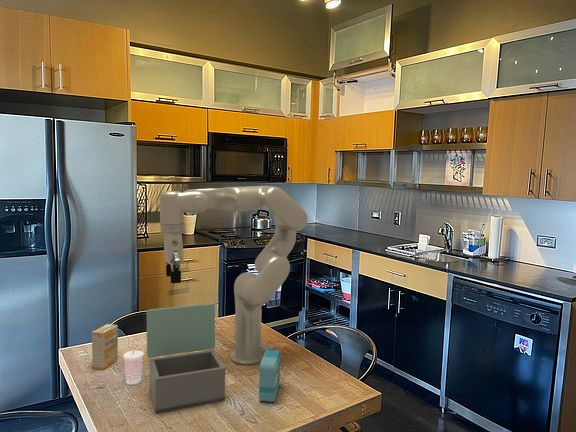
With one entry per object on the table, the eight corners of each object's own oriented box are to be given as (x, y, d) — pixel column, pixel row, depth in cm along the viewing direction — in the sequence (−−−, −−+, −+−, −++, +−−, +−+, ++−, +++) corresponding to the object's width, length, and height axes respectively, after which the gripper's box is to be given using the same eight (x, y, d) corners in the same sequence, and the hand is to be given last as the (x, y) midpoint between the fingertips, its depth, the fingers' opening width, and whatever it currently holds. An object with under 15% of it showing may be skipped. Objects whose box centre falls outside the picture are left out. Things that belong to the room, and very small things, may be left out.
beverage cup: (136, 374, 143) (136, 334, 142) (147, 380, 140) (147, 338, 138) (119, 381, 138) (119, 339, 137) (131, 387, 135) (130, 344, 133)
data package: (273, 404, 128) (274, 365, 126) (258, 402, 128) (259, 364, 127) (279, 384, 139) (280, 349, 138) (265, 383, 140) (266, 348, 139)
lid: (215, 348, 141) (214, 347, 142) (214, 304, 141) (213, 303, 142) (147, 357, 132) (147, 356, 133) (146, 310, 132) (146, 309, 133)
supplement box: (104, 370, 146) (104, 332, 145) (91, 368, 147) (91, 331, 145) (118, 360, 154) (118, 324, 153) (106, 358, 155) (106, 323, 154)
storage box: (213, 379, 142) (213, 350, 141) (224, 400, 129) (225, 368, 128) (149, 390, 133) (149, 359, 132) (155, 413, 121) (155, 379, 120)
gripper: (188, 231, 136) (189, 284, 138) (179, 225, 152) (180, 272, 153) (164, 233, 133) (165, 287, 135) (157, 226, 149) (158, 274, 150)
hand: (173, 279), depth 144 cm, fingers open, 9 cm apart
